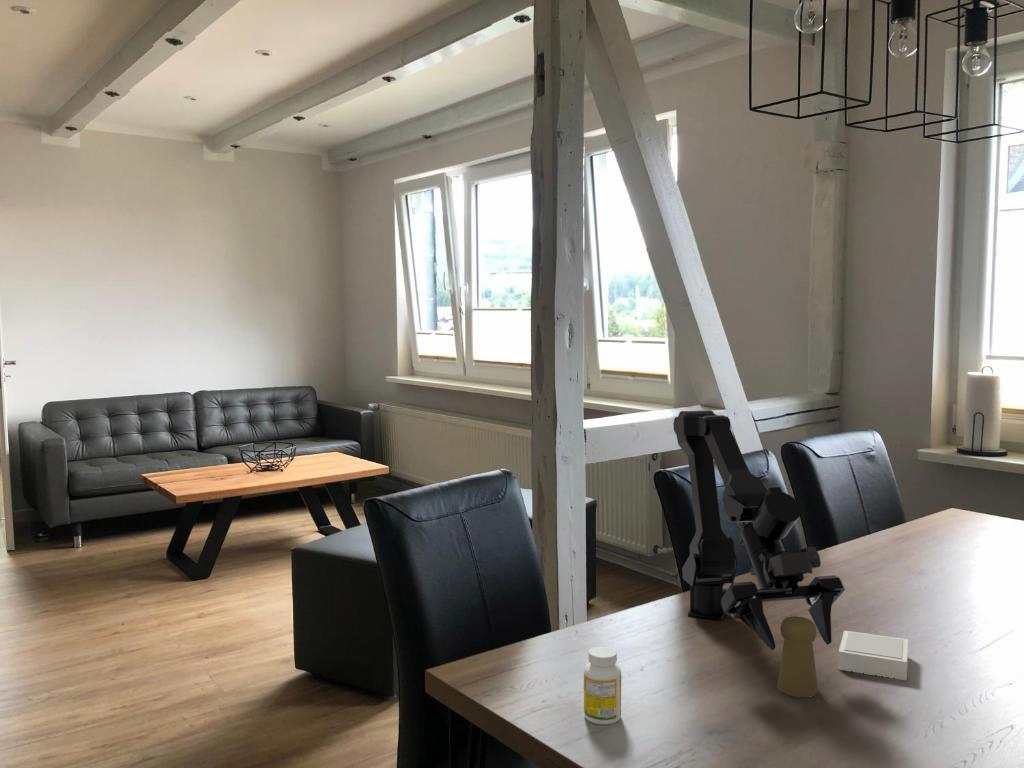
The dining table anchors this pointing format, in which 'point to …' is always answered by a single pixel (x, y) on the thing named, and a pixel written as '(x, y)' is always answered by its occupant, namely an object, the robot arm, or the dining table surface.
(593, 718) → the supplement bottle
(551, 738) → the dining table surface
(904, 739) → the dining table surface
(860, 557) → the dining table surface
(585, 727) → the dining table surface
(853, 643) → the tray
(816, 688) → the cork
